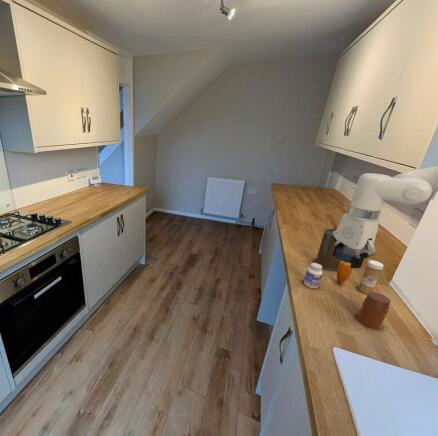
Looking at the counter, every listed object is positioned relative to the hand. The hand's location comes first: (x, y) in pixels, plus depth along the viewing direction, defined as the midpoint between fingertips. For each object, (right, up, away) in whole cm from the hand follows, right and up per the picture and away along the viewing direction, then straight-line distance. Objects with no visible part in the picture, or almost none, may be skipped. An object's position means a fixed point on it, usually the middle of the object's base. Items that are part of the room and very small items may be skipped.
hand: (345, 261), depth 82 cm
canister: (+21, -9, +36) cm, 43 cm away
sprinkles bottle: (+22, -16, +17) cm, 32 cm away
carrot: (+15, -14, +22) cm, 30 cm away
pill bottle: (+2, -14, +21) cm, 25 cm away
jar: (+9, -21, +1) cm, 23 cm away
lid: (0, +3, -1) cm, 3 cm away
